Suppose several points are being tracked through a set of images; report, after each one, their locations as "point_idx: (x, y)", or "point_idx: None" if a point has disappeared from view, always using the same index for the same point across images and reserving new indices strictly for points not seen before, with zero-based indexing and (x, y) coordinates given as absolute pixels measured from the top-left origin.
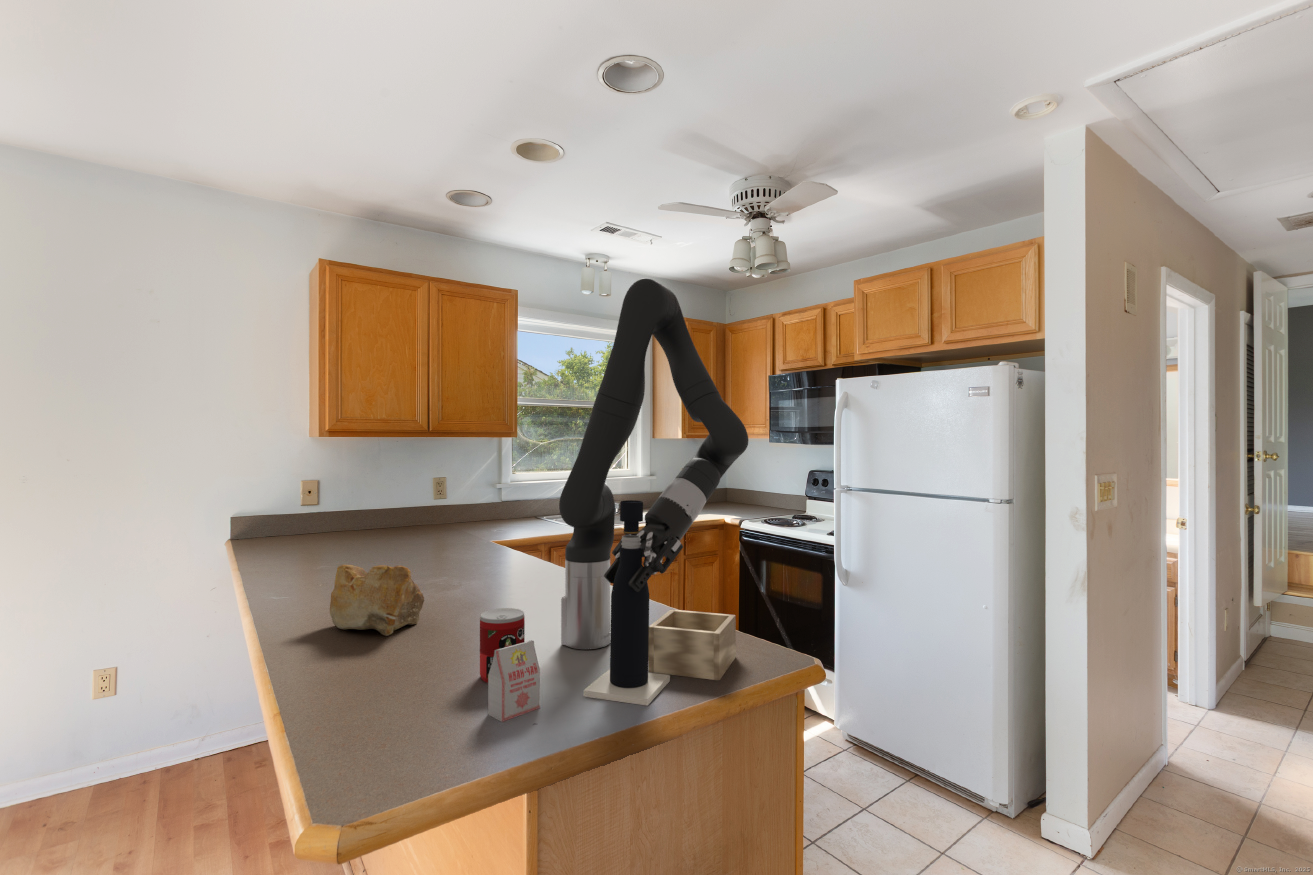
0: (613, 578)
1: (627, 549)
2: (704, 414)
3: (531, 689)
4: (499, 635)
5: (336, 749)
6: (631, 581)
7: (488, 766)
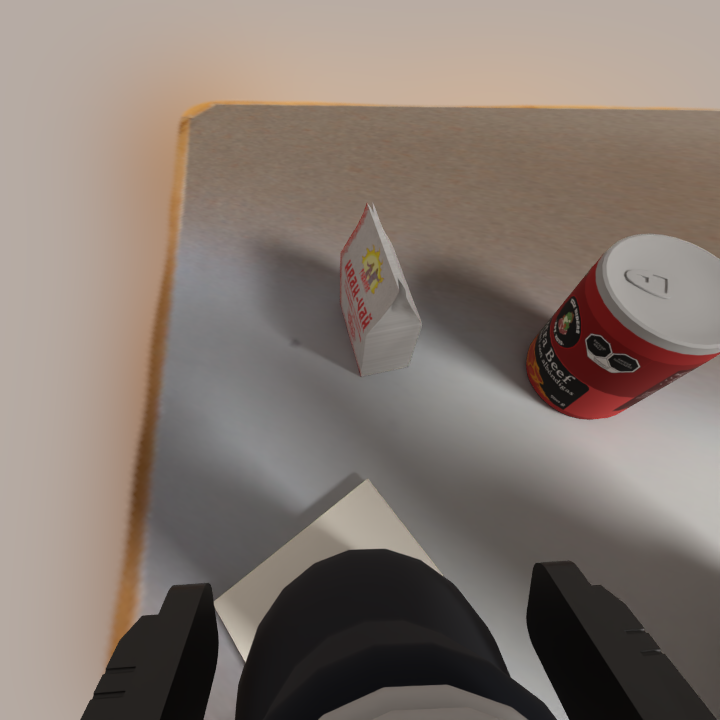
0: (545, 639)
1: (284, 711)
2: None
3: (357, 336)
4: (578, 289)
5: (376, 134)
6: (173, 596)
7: (202, 244)
